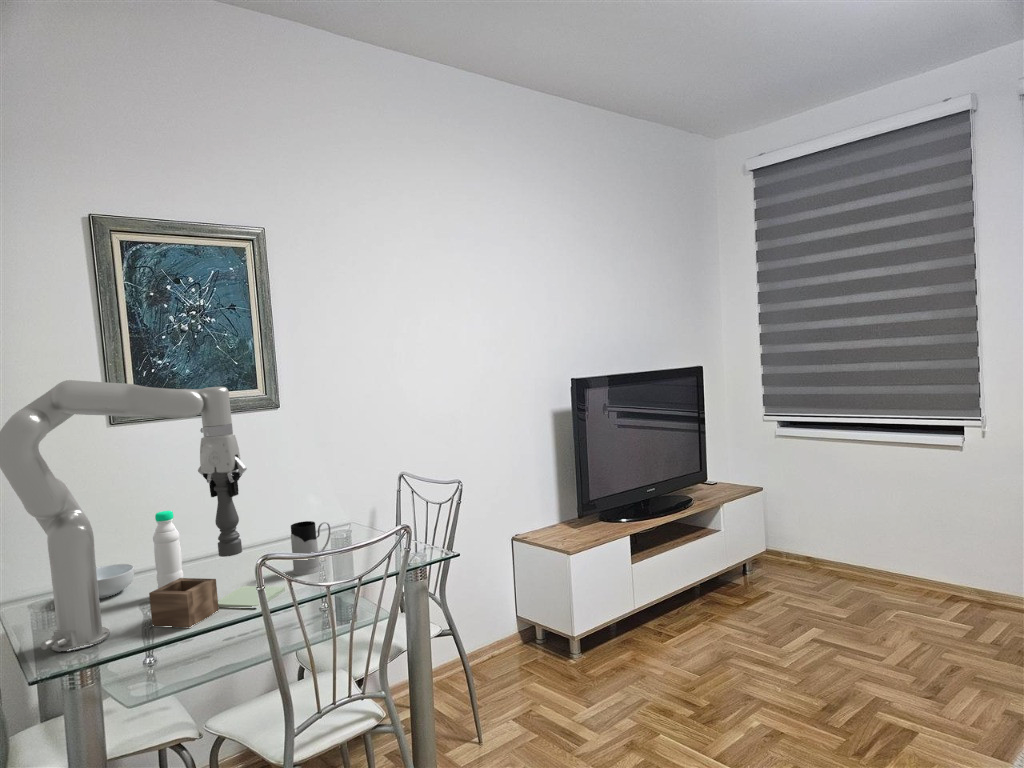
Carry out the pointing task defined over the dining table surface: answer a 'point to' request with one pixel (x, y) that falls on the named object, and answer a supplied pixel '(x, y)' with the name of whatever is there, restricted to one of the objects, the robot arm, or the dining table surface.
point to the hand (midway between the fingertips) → (224, 495)
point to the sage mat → (248, 596)
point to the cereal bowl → (113, 578)
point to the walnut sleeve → (183, 602)
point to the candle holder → (226, 517)
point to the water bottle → (167, 549)
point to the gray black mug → (306, 546)
